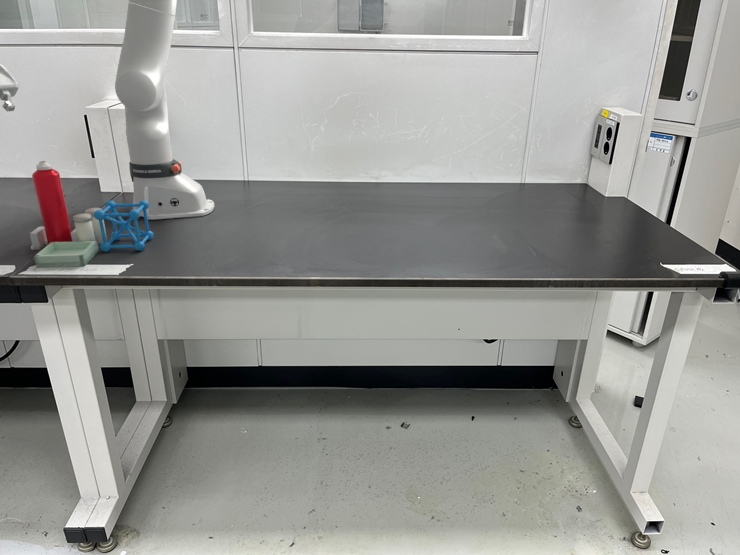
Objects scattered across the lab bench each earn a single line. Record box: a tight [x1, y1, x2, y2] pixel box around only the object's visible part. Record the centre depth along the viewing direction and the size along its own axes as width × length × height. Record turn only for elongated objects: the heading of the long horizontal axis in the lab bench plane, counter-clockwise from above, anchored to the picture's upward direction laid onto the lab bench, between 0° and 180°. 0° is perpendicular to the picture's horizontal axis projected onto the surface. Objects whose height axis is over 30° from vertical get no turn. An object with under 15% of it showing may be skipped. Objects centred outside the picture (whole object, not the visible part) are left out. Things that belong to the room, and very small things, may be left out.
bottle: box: [31, 160, 73, 245], centre depth 128 cm, size 5×6×20 cm
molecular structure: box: [94, 200, 154, 252], centre depth 131 cm, size 10×10×10 cm
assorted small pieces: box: [29, 207, 108, 268], centre depth 128 cm, size 16×20×8 cm
